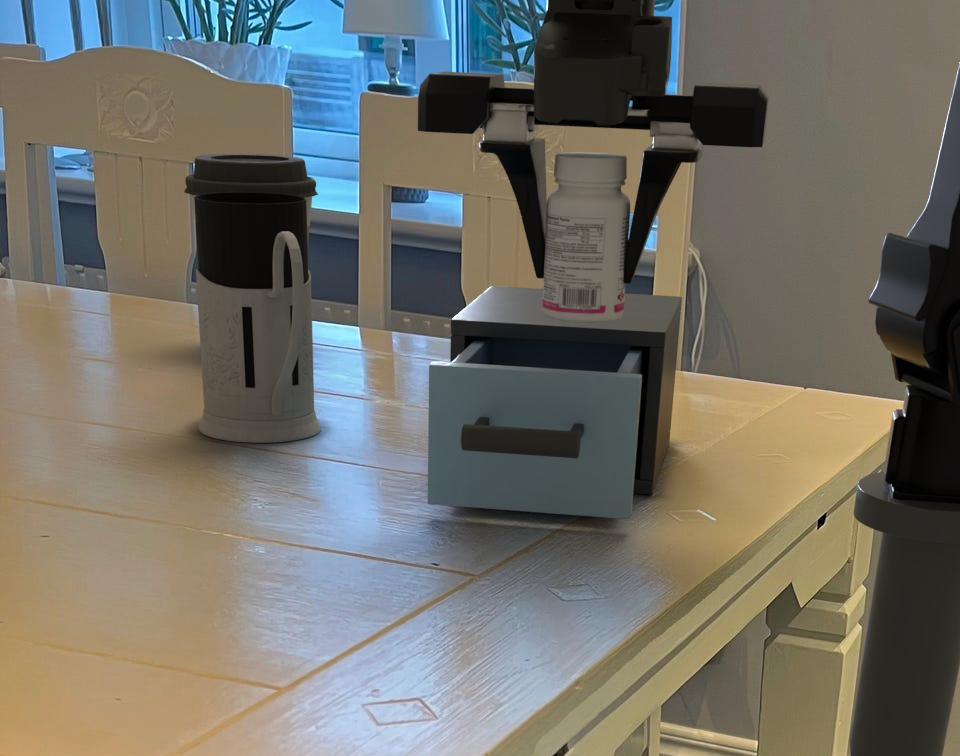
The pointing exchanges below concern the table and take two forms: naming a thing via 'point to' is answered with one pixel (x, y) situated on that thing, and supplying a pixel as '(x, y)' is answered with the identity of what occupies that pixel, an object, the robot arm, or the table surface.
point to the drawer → (536, 427)
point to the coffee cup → (251, 176)
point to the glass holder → (255, 317)
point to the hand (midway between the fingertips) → (583, 280)
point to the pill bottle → (586, 238)
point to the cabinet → (640, 325)
